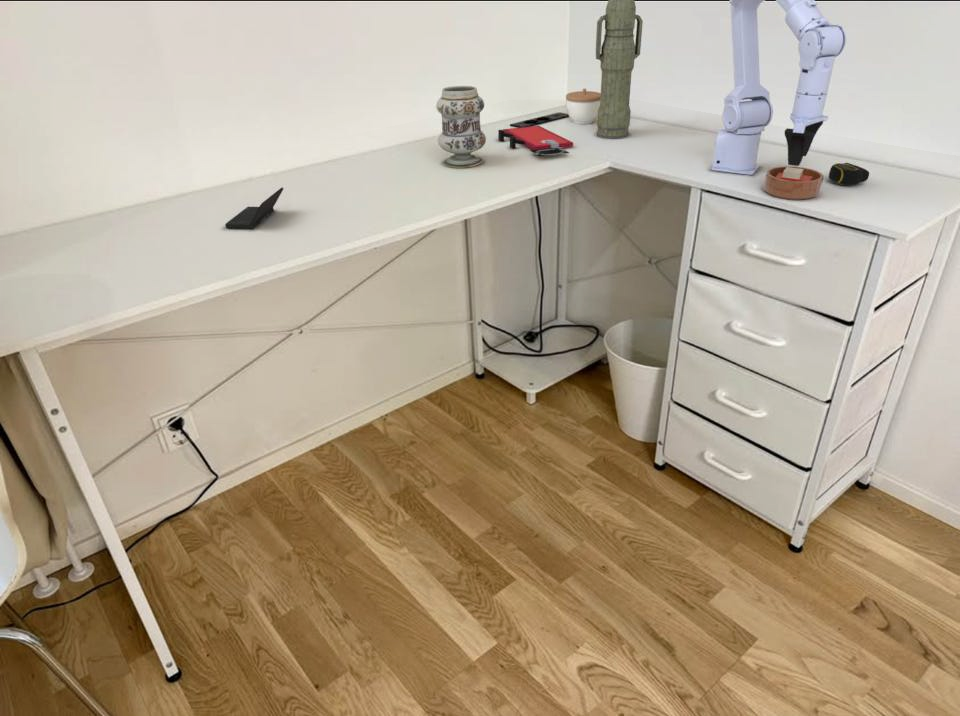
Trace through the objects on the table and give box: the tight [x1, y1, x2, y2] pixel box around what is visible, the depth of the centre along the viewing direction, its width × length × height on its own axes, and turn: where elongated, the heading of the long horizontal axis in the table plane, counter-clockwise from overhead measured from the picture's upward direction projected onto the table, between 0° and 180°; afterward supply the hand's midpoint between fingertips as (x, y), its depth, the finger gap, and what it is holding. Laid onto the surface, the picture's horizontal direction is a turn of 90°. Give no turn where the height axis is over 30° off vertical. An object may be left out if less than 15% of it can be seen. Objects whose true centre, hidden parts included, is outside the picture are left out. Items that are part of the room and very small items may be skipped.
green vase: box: [595, 0, 644, 140], centre depth 187 cm, size 9×12×35 cm
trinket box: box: [565, 88, 601, 125], centre depth 208 cm, size 11×11×9 cm
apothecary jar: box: [435, 85, 487, 169], centre depth 173 cm, size 12×12×18 cm
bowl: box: [763, 165, 824, 201], centre depth 149 cm, size 11×11×4 cm
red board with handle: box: [497, 125, 574, 157], centre depth 189 cm, size 30×3×15 cm
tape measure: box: [828, 162, 870, 186], centre depth 153 cm, size 7×7×4 cm
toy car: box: [776, 167, 813, 181], centre depth 149 cm, size 7×4×4 cm, turn 59°
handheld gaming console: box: [225, 187, 284, 230], centre depth 145 cm, size 12×7×10 cm
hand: (797, 160), depth 147 cm, fingers open, 7 cm apart
